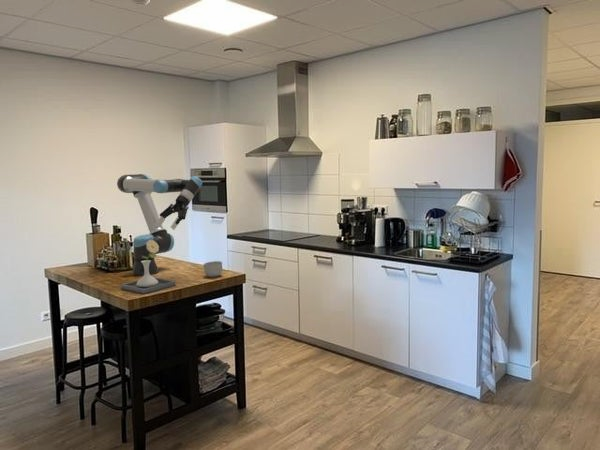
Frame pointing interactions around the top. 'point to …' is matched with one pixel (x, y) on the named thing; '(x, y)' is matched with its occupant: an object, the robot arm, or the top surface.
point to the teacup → (213, 268)
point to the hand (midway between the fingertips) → (164, 227)
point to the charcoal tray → (144, 290)
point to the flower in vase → (147, 278)
